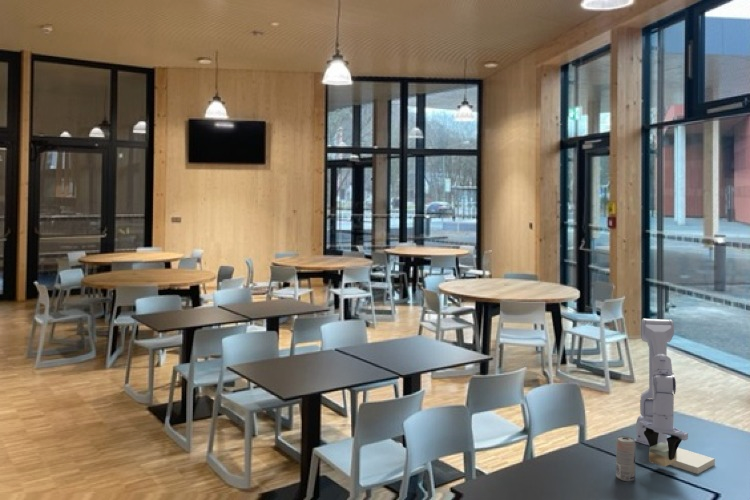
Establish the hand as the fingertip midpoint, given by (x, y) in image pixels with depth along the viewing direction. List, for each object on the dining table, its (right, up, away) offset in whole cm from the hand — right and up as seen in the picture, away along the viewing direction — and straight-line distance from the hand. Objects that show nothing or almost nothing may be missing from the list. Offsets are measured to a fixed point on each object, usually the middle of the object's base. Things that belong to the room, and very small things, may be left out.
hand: (662, 456), depth 190 cm
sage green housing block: (0, -2, 0) cm, 2 cm away
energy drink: (-14, -5, -5) cm, 15 cm away
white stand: (+10, -4, +5) cm, 12 cm away
